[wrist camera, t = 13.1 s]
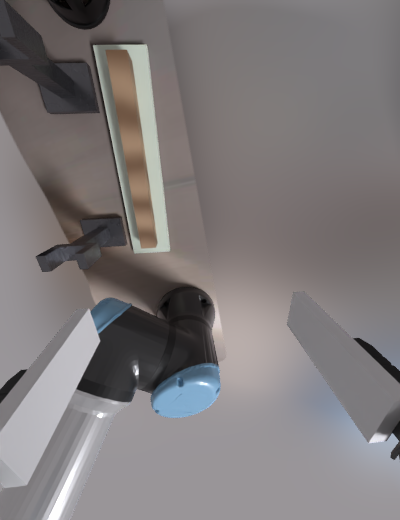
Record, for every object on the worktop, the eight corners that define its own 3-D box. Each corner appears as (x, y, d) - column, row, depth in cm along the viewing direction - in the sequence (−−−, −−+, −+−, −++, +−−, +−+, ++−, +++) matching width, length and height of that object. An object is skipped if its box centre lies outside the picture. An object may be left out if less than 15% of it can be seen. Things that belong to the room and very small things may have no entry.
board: (170, 249, 44) (169, 251, 43) (135, 251, 44) (134, 253, 43) (147, 49, 30) (146, 44, 29) (96, 49, 30) (92, 44, 29)
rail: (157, 243, 42) (155, 247, 39) (143, 243, 42) (141, 248, 39) (132, 61, 30) (126, 49, 27) (112, 61, 29) (105, 49, 27)
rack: (127, 243, 43) (97, 279, 28) (90, 246, 42) (41, 283, 28) (90, 66, 30) (3, -33, 16) (38, 67, 30) (-100, -35, 15)
